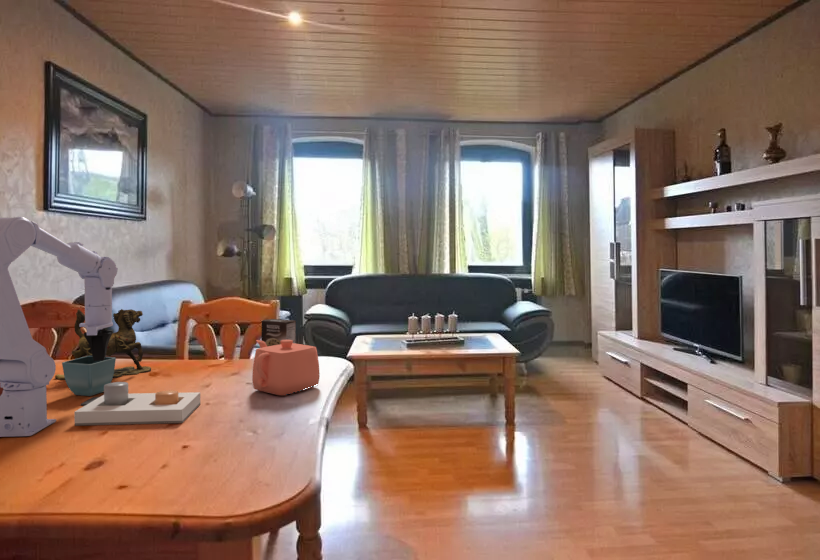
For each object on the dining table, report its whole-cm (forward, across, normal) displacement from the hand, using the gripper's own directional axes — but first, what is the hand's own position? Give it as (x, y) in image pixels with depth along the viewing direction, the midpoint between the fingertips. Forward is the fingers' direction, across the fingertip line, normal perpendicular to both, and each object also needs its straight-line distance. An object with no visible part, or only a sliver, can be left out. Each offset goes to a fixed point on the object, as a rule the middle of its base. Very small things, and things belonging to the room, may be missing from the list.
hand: (99, 360), depth 126 cm
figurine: (+11, -32, -5) cm, 34 cm away
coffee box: (+11, -24, +45) cm, 52 cm away
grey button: (+7, +13, +6) cm, 16 cm away
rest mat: (+10, 0, 0) cm, 10 cm away
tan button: (+10, +15, +17) cm, 24 cm away
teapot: (+11, -1, +43) cm, 45 cm away
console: (+10, +14, +11) cm, 21 cm away
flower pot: (+11, -9, -4) cm, 15 cm away
